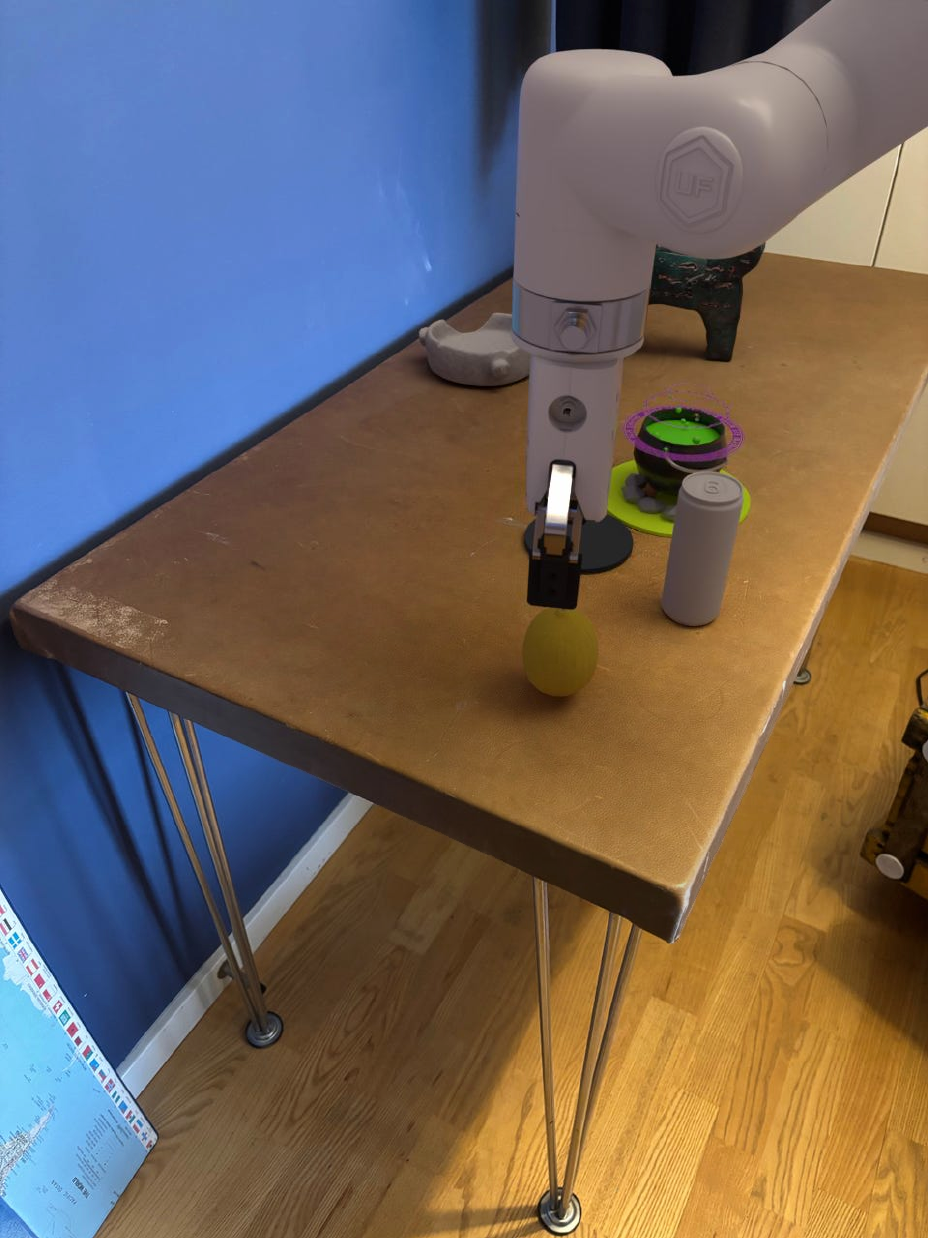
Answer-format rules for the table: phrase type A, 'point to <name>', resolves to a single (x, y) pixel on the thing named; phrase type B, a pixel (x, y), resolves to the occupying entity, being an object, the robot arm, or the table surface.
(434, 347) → the dish
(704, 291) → the ceramic cat
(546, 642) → the lemon
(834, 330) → the table surface
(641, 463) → the toy cauldron
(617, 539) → the disc
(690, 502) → the beverage can
